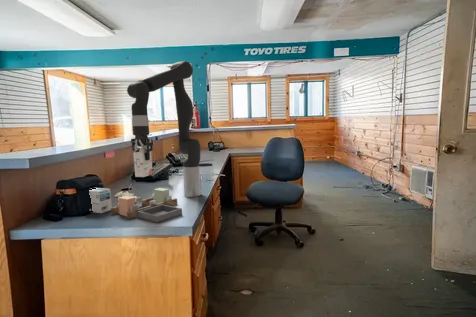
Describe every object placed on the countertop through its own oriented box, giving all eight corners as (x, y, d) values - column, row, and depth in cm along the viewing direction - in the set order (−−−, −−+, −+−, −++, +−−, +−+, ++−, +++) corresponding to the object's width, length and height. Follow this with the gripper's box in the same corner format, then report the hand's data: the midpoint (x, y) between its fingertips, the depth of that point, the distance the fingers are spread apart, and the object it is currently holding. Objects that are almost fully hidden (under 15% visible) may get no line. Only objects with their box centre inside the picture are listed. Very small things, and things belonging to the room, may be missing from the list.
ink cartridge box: (144, 174, 143) (142, 144, 141) (153, 174, 142) (151, 144, 140) (134, 177, 134) (132, 146, 133) (144, 177, 133) (141, 146, 132)
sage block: (161, 202, 151) (160, 187, 151) (169, 204, 147) (168, 189, 146) (154, 204, 148) (153, 189, 147) (163, 206, 144) (162, 190, 143)
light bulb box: (112, 209, 140) (111, 188, 139) (101, 213, 134) (99, 191, 133) (97, 207, 144) (95, 187, 143) (85, 211, 138) (83, 189, 137)
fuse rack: (159, 200, 155) (159, 191, 155) (177, 204, 147) (176, 194, 146) (111, 214, 133) (110, 203, 132) (128, 219, 124) (128, 208, 124)
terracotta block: (127, 212, 135) (126, 195, 135) (136, 214, 131) (134, 197, 130) (119, 214, 132) (118, 197, 131) (128, 216, 128) (127, 199, 127)
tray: (162, 210, 137) (162, 204, 136) (182, 214, 129) (181, 208, 128) (138, 218, 126) (137, 211, 125) (157, 223, 118) (157, 216, 117)
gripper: (156, 124, 134) (158, 159, 136) (138, 125, 142) (140, 158, 144) (143, 124, 128) (145, 161, 130) (124, 125, 136) (127, 160, 138)
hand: (142, 159), depth 137 cm, fingers closed on ink cartridge box, 6 cm apart
